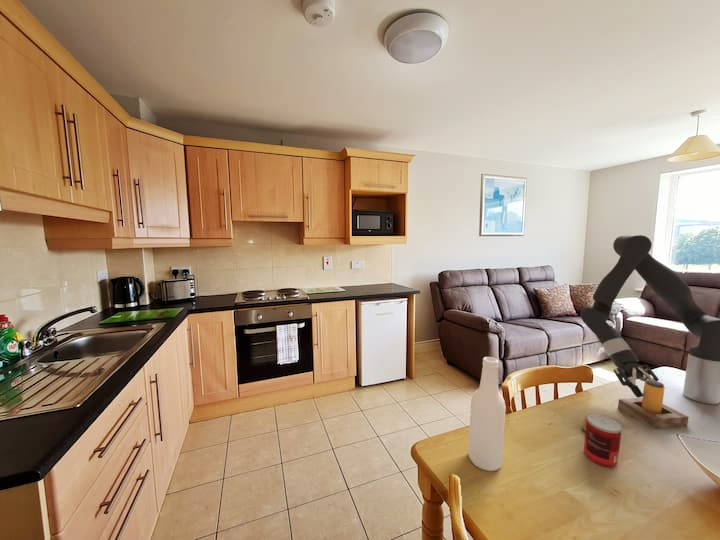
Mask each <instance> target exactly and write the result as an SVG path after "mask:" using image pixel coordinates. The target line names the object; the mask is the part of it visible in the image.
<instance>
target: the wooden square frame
mask: <svg viewBox="0 0 720 540" xmlns="http://www.w3.org/2000/svg"><path fill="white" fill-rule="evenodd" d="M642 398H643V397H639V398H638V397H635V398H634V397H633V398H631V397H630V398H619V399H618V403H617V408H618V410H621V411H622V412H624V413H625V414H627V415H629V416H630V417H632V418H634V419H636V420H637V421H639V422H641V423H642V424H644V425H646V426H647V427H649V428H650V429H653V430H656V429H657V430H658V429H670V428H671V429H672V428H686V427H688V423H689V416H688V415H686V414H684V413H682V412H680V411H678V410H676V409H674V408H672V407H670V406H668V405H666V404H664V403H663V404H662V411H661V414H652V413H651V412H649V411H647V410H645V409H643V408H641V407H642Z"/></svg>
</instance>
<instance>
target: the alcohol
mask: <svg viewBox="0 0 720 540" xmlns="http://www.w3.org/2000/svg"><path fill="white" fill-rule="evenodd" d="M499 363H500V362H499V360H498V359H497V358H495V357H492V356H484V357H483V358H482V370H481V376H480V383H479V387H478V388H477V389H476V390H475V391H473V393H472V396H471V398H470V415H469V431H468V433H469V434H468V435H469V436H468V453H467V454H468V457H469V459H470V461H471V462H472V464H473V465H474V466H476V467H477V468H479V469H480V470H482V471H487V472H494V471H495V472H496V471H497V470H498V469H499V468H501V467H502V465H503V453H504V452H503V451H504V436H505V423H506V410H507V408H506V407H507V406H506V401H505V398H504V397H503V396H502V394H501V393H500V391H499V390H500V389H499V367H500V366H499Z"/></svg>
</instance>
